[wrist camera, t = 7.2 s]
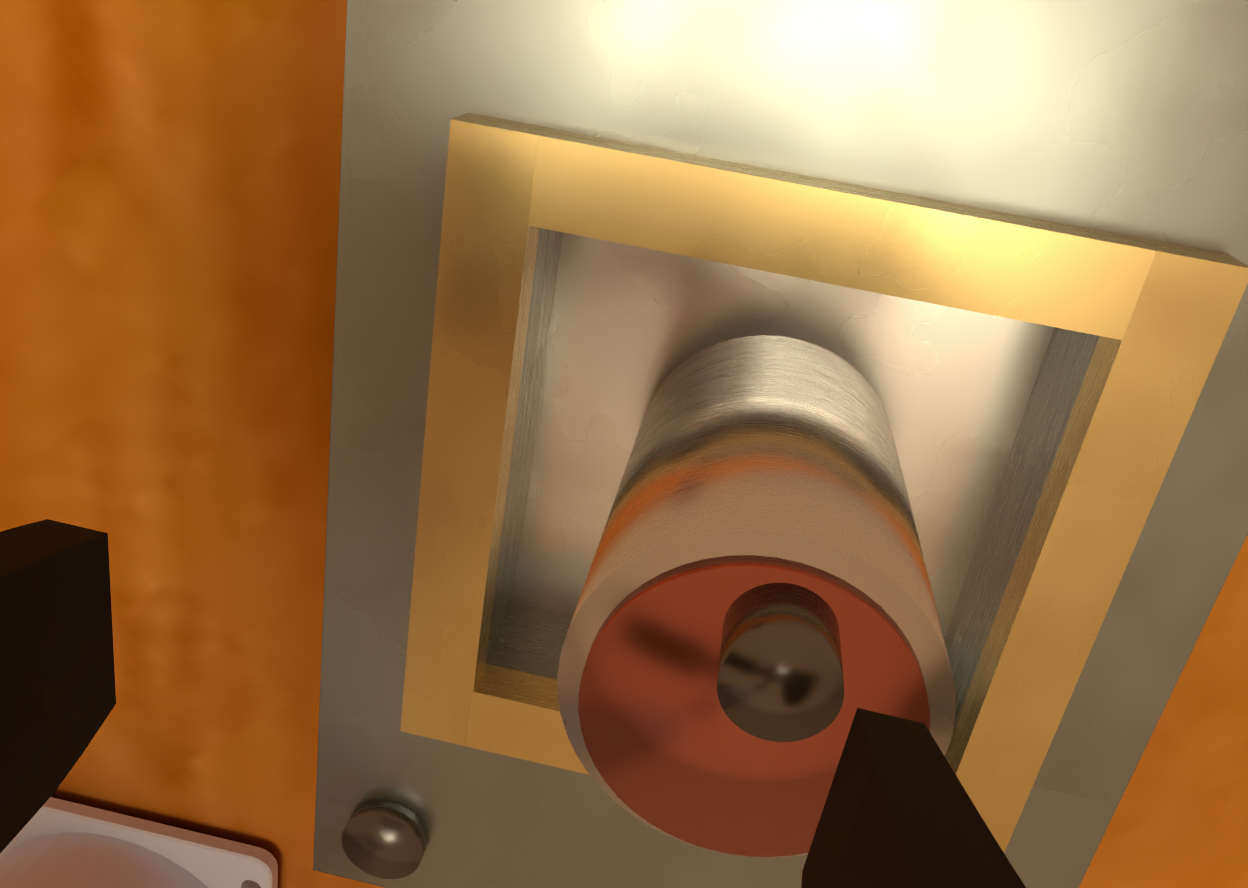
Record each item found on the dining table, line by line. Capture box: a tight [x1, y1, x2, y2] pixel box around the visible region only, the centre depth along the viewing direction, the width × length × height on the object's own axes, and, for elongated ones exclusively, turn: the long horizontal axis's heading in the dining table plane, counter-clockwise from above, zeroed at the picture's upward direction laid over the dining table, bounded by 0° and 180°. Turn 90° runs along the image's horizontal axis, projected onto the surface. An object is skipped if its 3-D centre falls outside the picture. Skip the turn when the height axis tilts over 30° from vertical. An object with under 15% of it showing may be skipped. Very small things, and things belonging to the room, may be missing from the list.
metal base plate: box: [313, 0, 1248, 888], centre depth 17 cm, size 20×14×4 cm
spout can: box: [558, 335, 956, 858], centre depth 14 cm, size 4×4×8 cm
